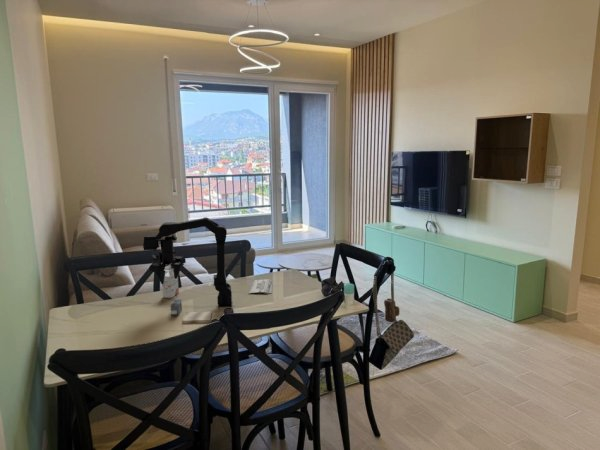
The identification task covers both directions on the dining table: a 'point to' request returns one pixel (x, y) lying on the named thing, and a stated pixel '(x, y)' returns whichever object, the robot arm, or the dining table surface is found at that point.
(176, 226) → the robot arm
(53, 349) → the dining table surface
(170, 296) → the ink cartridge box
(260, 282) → the newspaper
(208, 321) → the oak board
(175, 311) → the connector
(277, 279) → the dining table surface
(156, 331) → the dining table surface
